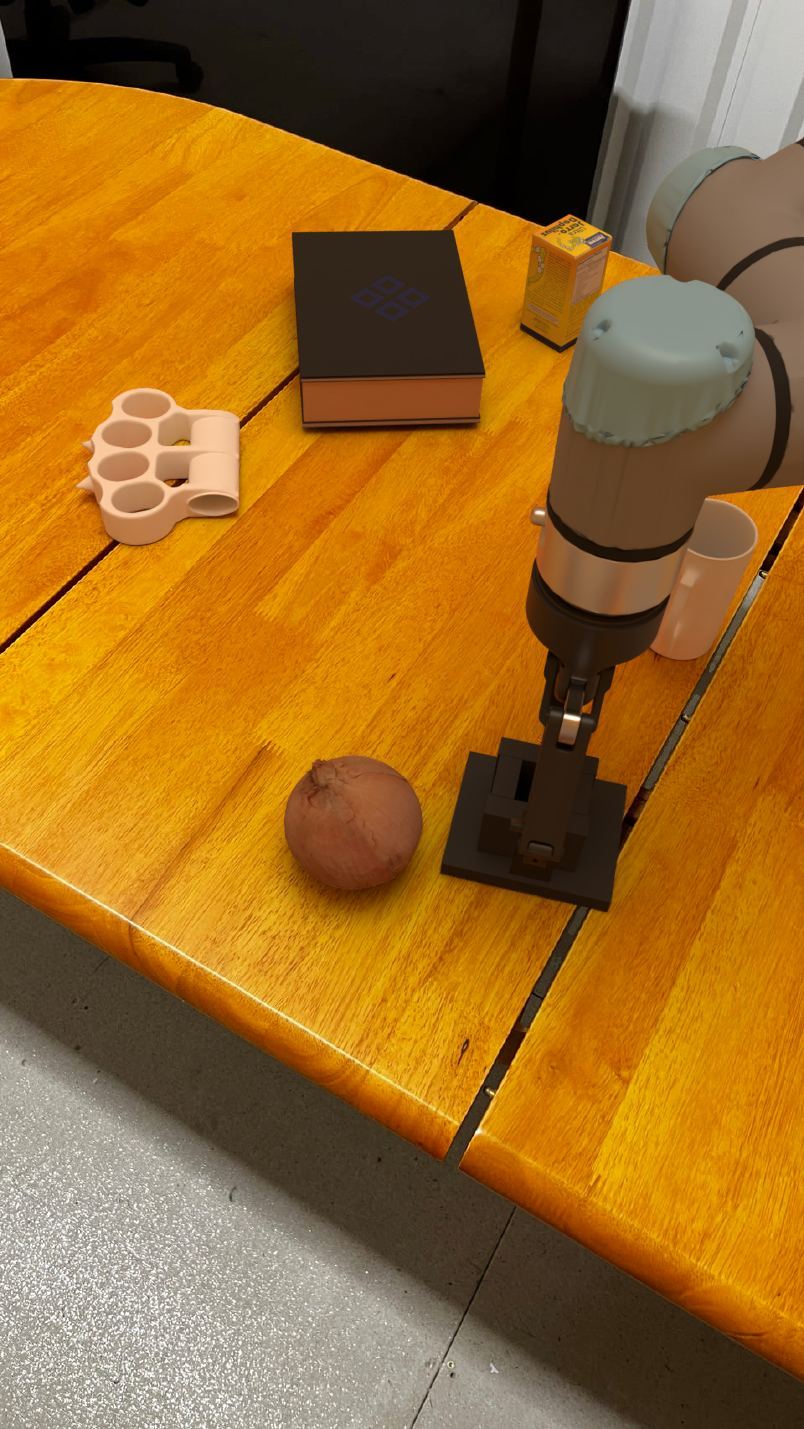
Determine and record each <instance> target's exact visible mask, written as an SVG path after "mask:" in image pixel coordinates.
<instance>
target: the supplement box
mask: <svg viewBox="0 0 804 1429" xmlns="http://www.w3.org/2000/svg"><path fill="white" fill-rule="evenodd" d="M531 236H532V237H531V243H530V244H531V245H530V254H529V260H528V265H527V266H528V267H527V274H526V282H525V287H524V296H523V303H522V310H521V317H520V326H519V330H521V331H522V332H524V333H526V334H528V335H529V336H531V337H533V338H535V339H536V340H537V341H539V340H540V341H539V342H541V343H543V344H544V345H546V346H548V347H550V348H552V350H553V349H554V350H555V351H557V352H559V353H561V352H563V351H564V350H566V349H568V348H569V347H571V346H572V345H574V344H576V342H577V339H578V336H579V333H580V330H581V327H582V323H583V320H584V318H585V316H586V314H587V311H588V310H589V308H590V306H591V305H592V304H593V303H594V301H595V300H596V299H597V298H598V297H599V296H600V295H601V294H602V293H603V287H604V282H605V276H606V272H607V268H608V263H609V257H610V252H611V247H612V242H613V236H612V235H611V234H609V233H608V232H605V231H603V230H601V229H599V228H597V227H595V226H593V225H591V224H589V223H587V222H586V221H584V220H583V219H581V218H579V217H577V216H574V215H572V214H567V215H566V216H563V217H561V218H559V219H558V220H556V221H554V222H552V223H550V224H549V225H547V226H545V227H543V228H541V229H539V230H537V231H535V232H533V233H532V235H531Z"/></svg>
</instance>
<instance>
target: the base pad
mask: <svg viewBox="0 0 804 1429" xmlns="http://www.w3.org/2000/svg"><path fill="white" fill-rule="evenodd" d="M496 759H497V755H490V754H486V753H481V752H477V751H472V750H469V752H468V754H467V759H466V764H465V767H464V771H463V775H462V779H461V783H460V787H459V791H458V795H457V799H456V802H455V807H454V811H453V815H452V820H451V823H450V827H449V831H448V835H447V839H446V842H445V847H444V850H443V855H442V859H441V864H440V869H439V874H441V875H444V876H449V877H453V878H458V879H462V880H466V881H470V882H476V883H479V884H484V885H488V886H493V887H497V888H501V889H506V890H510V891H514V892H518V893H523V894H527V895H532V896H535V897H540V898H544V899H548V900H553V901H557V902H562V903H566V904H570V905H573V906H578V907H584V908H587V909H591V910H596V911H601V912H604V913H608V911H609V909H610V907H611V904H612V901H613V893H614V887H615V878H616V873H617V872H616V871H617V864H618V857H619V850H620V843H621V835H622V829H623V822H624V815H625V809H626V808H625V807H626V800H627V792H628V785H627V784H624V783H619V782H615V781H609V780H604V779H601V778H596V780H595V783H594V786H593V789H592V792H591V796H590V802H589V808H588V814H587V816H589V817H590V820H589V826H588V832H587V837H586V840H585V843H584V846H583V849H582V852H581V855H580V858H579V861H578V864H577V867H576V870H575V872H570V871H565V870H561V869H557V868H554V870H553V873H552V877H551V880H550V883H548V882H544V881H540V880H535V879H531V878H527V877H522V876H518V875H514V874H509V869H510V865H511V860H512V858H509V857H505V856H501V855H496V854H492V853H488V852H483V851H479V850H477V846H478V840H479V835H480V830H481V824H482V819H483V814H484V809H485V805H486V801H487V796H488V794H491V786H492V780H493V775H494V770H495V765H496ZM533 778H534V777H533ZM531 787H532V786H531ZM530 791H531V790H530ZM529 796H530V794H529ZM514 800H518V801H522V802H527V803H528V801H526V800H522V799H517V798H514ZM528 800H529V798H528Z"/></svg>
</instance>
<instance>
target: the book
mask: <svg viewBox="0 0 804 1429" xmlns="http://www.w3.org/2000/svg"><path fill="white" fill-rule="evenodd" d="M291 248H292V264H293V265H292V266H293V295H294V312H295V326H296V327H295V328H296V343H297V344H296V345H297V358H298V359H297V360H298V377H299V393H300V409H301V426H302V429H310V428H312V429H313V428H347V427H352V428H353V427H382V426H387V427H388V426H414V425H415V426H417V425H419V426H420V425H452V424H453V425H455V424H481V419H482V418H481V414H480V409H481V400H482V399H481V398H482V389H483V382H484V379H486V375H487V374H486V367H485V364H484V358H483V355H482V351H481V346H480V341H479V337H478V333H477V328H476V323H475V319H474V314H473V311H472V305H471V302H470V298H469V293H468V287H467V284H466V279H465V275H464V270H463V266H462V262H461V257H460V252H459V249H458V244H457V240H456V235H455V230H454V229H423V230H421V229H418V230H417V229H416V230H350V231H349V230H346V231H345V230H341V231H292V232H291Z"/></svg>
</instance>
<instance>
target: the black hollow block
mask: <svg viewBox="0 0 804 1429" xmlns="http://www.w3.org/2000/svg"><path fill="white" fill-rule="evenodd" d="M540 746H541V744H537V743H533V742H528V741H524V740H519V739H515V738H512V737H511V738H510V737H506V736H501V738H500V741H499V745H498V750H497V753H496V754H497V755H496V757H497V759H496V765H495V770H494V775H493V780H492V786H491V794H488V796H487V801H486V805H485V809H484V814H483V819H482V824H481V830H480V835H479V840H478V846H477V850H479V851H483V852H488V853H492V854H496V855H501V856H505V857H509V858H512V856H513V852H514V848H515V843H516V839H517V835H518V832H514V831H510V830H509V828H510V824H511V819H512V818H516V819H520V820H521V818H522V814H523V811H526V809H527V805H528V803H527V802H522V801H518V800H514V798H517V799H522V800H526V801H528V798H529V794H530V790H531V786H532V782H533V777H534V773H535V768H536V764H537V759H538V755H539V750H540ZM599 766H600V757H598V756H597V757H596V756H594V755H593V756H592V755H589V754H586V756H585V760H584V764H583V768H582V772H581V776H580V780H579V784H578V788H577V792H576V796H575V800H574V804H573V808H572V812H571V816H570V820H569V824H568V828H567V832H566V836H565V840H564V845H563V848H564V854H563V857H561V861H559V862H556V863H555V867H554V868H557V869H561V870H565V871H570V872H575V870H576V867H577V864H578V861H579V858H580V855H581V852H582V849H583V846H584V843H585V840H586V837H587V832H588V826H589V820H590V817H589V816H587V814H588V808H589V802H590V796H591V792H592V789H593V786H594V783H595V780H596V779H597V776H598V771H599Z"/></svg>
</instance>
